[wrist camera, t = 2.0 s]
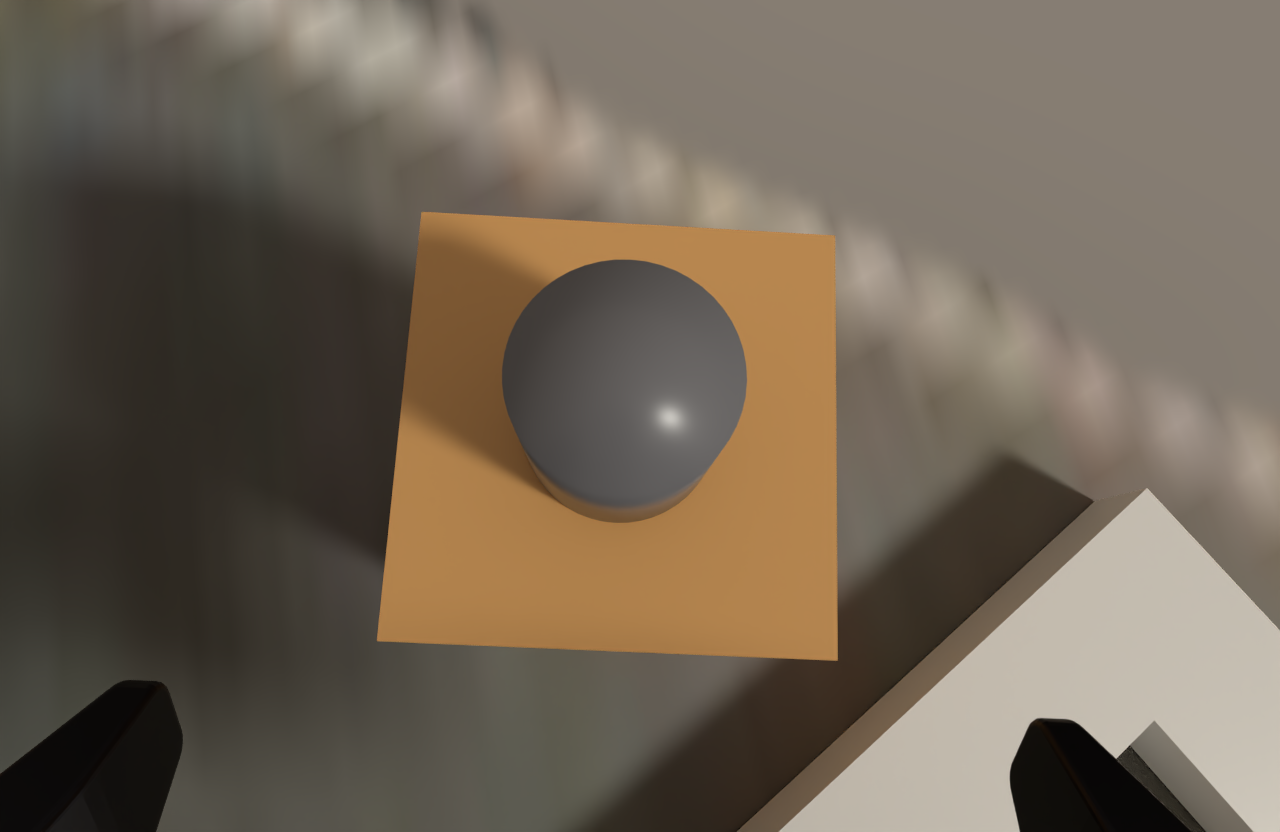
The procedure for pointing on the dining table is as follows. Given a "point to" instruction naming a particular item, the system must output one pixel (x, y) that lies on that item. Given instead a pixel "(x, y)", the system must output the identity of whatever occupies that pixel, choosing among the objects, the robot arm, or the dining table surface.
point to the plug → (617, 441)
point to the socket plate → (1070, 690)
